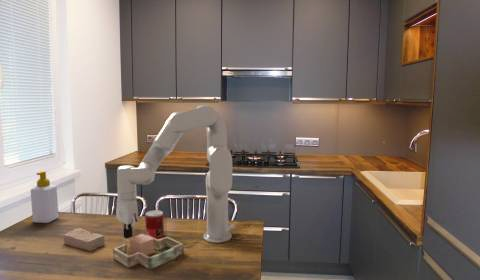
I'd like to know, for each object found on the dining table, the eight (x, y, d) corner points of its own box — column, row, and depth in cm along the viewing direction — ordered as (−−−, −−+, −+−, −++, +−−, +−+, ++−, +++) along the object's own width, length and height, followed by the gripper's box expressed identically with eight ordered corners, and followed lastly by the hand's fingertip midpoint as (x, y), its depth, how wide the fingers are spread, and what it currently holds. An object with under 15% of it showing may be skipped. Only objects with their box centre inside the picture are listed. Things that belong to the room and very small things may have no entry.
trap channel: (157, 240, 157) (157, 232, 156) (185, 253, 145) (185, 244, 144) (112, 257, 141) (111, 248, 141) (139, 273, 129) (138, 263, 128)
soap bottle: (31, 222, 178) (27, 173, 174) (44, 216, 187) (40, 169, 183) (47, 223, 176) (44, 174, 173) (59, 217, 185) (56, 170, 182)
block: (142, 247, 151) (142, 233, 150) (154, 252, 146) (153, 238, 145) (130, 251, 146) (129, 237, 146) (141, 257, 141) (140, 243, 140)
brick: (105, 244, 154) (105, 233, 153) (90, 252, 147) (89, 241, 146) (79, 237, 161) (78, 227, 161) (62, 244, 154) (62, 234, 153)
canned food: (159, 240, 157) (159, 216, 156) (142, 238, 159) (142, 215, 158) (166, 233, 165) (166, 210, 163) (150, 232, 166) (149, 209, 165)
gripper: (109, 193, 151) (110, 234, 154) (128, 200, 142) (129, 245, 144) (125, 190, 157) (126, 230, 159) (145, 197, 147) (145, 239, 150)
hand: (128, 237), depth 152 cm, fingers closed
